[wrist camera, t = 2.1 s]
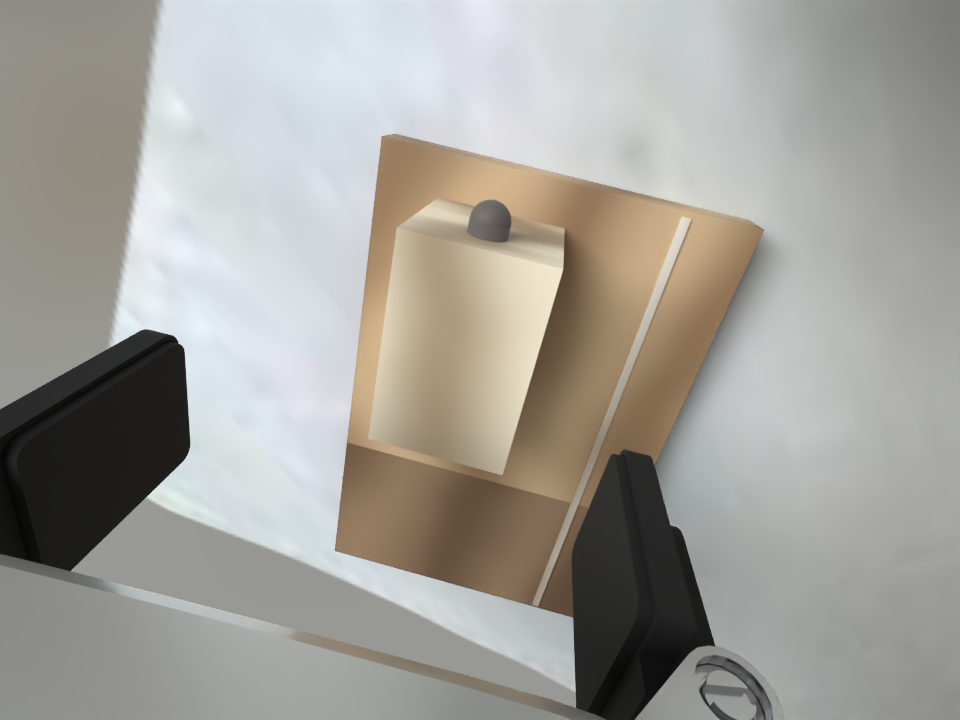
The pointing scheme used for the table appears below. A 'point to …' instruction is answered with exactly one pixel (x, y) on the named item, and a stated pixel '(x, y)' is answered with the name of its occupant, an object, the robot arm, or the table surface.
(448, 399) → the beige block with knob
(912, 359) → the table surface
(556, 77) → the table surface
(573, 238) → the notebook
